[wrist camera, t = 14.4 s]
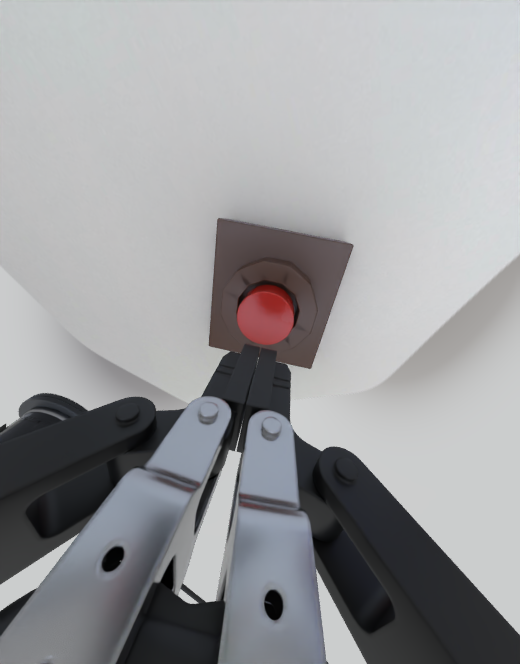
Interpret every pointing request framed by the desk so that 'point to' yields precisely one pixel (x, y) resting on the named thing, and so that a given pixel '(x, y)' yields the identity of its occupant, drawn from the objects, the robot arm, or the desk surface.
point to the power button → (266, 315)
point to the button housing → (275, 284)
